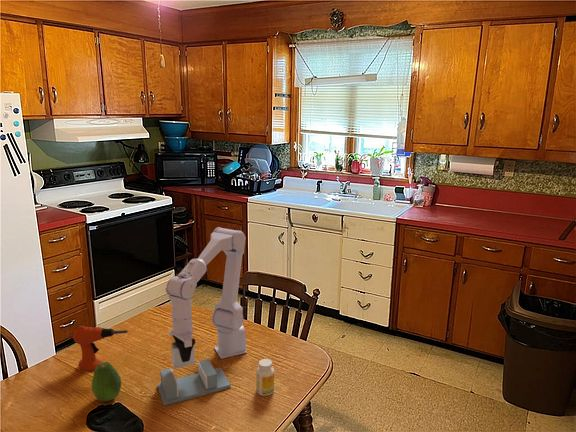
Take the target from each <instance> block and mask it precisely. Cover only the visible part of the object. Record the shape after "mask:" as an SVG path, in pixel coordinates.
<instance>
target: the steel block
mask: <svg viewBox="0 0 576 432" xmlns="http://www.w3.org/2000/svg"><path fill="white" fill-rule="evenodd" d="M170 346H171V349H170V350H171V362H172V365H173V368H174V370H176V369H180V368H184V367H189V366H192V365H195V364H196V360H195V357H196V356H195V354H196V353H195V345H194V346H193V348H192V351H191V356H190V360H189V361H187V362H182V359H181V356H180V351H179V349H178V347H177V346H176V343H175V341H172V342H170Z"/></svg>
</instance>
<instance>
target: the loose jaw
mask: <svg viewBox="0 0 576 432" xmlns="http://www.w3.org/2000/svg"><path fill="white" fill-rule="evenodd" d="M197 368H198V373H199V375H200V377H201V379H202V381H203V383H204V385H205V387H206V389H211V388H215V387H217V373H216V371H215V370H214V369H215V368H214V366H213V364H212V363H211V360H210V359H209V358H207V359H203V360H199V361H197Z"/></svg>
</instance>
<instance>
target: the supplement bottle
mask: <svg viewBox="0 0 576 432" xmlns="http://www.w3.org/2000/svg"><path fill="white" fill-rule="evenodd" d="M255 371H256V372H255V373H256V382H255V383H256V384H255V385H256V387H255V388H256V393H257V394H258V395H259V396H270V395H272V394H273V393H274V391H275V368H274V367H273V361H272V360H271V359H270V358H269V359H268V358H262V359H260V360H259V361H258V367H257V369H256V370H255Z"/></svg>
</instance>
